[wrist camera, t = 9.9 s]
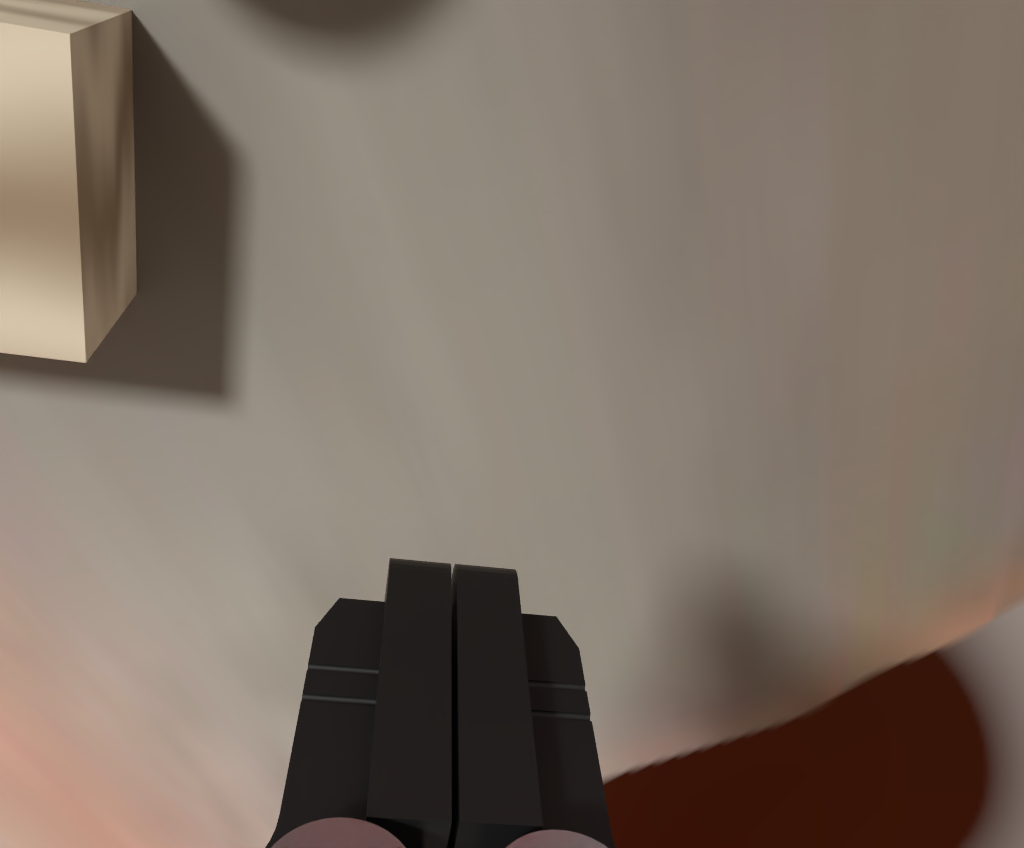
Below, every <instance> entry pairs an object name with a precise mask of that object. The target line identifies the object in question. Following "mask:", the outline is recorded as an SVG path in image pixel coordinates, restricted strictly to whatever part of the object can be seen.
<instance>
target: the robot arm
mask: <svg viewBox="0 0 1024 848" xmlns="http://www.w3.org/2000/svg"><path fill="white" fill-rule="evenodd" d="M265 848H615V845H614V842H613V837H612V833H611V828H610V822H609V816H608V811H607V805H606V800H605V794H604V788H603V782H602V776H601V771H600V765H599V759H598V754H597V748H596V742H595V737H594V731H593V725H592V721H590V708H589V703H588V697H587V691H585V680H584V674H583V669H582V663H581V657H580V651H579V648H578V647H577V645H576V644H575V642H574V641H573V639H572V638H571V637H570V635H569V634H568V632H567V631H566V630H565V628H564V627H563V625H562V624H561V623H560V621H559V620H558V618H557V617H556V616H544V615H533V614H521V605H520V595H519V586H518V577H517V572H516V570H514V569H504V568H493V567H482V566H471V565H461V564H455V566H454V569H453V574H452V579H451V564H447V563H436V562H426V561H415V560H404V559H393V558H390V561H389V569H388V577H387V585H386V594H385V602H380V601H368V600H356V599H345V598H339V599H338V600H337V602H336V603H335V604H334V605H333V606H332V608H331V609H330V610H329V611H328V612H327V614H326V615H325V616H324V617H323V618H322V620H321V621H320V622H319V623H318V624H317V626H316V627H315V631H314V636H313V642H312V647H311V652H310V657H309V663H308V670H307V673H306V678H305V684H304V689H303V695H302V701H301V705H300V710H299V715H298V721H297V726H296V731H295V736H294V742H293V747H292V752H291V758H290V763H289V768H288V773H287V779H286V784H285V789H284V794H283V800H282V805H281V810H280V815H279V819H278V823H277V826H276V829H275V831H274V833H273V835H272V838H271V840H270V842H269V843H268V844H267V846H266V847H265Z"/></svg>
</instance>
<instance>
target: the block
mask: <svg viewBox="0 0 1024 848" xmlns="http://www.w3.org/2000/svg"><path fill="white" fill-rule="evenodd" d="M136 294H137V267H136V214H135V160H134V106H133V53H132V10H129V9H123V8H117V7H112V6H106V5H100V4H95V3H89V2H83V1H78V0H0V353H8V354H16V355H24V356H33V357H41V358H49V359H58V360H66V361H74V362H83V363H86V362H87V361H88V360H89V358H90V357H91V355H92V354H93V353H94V351H95V350H96V349H97V347H98V346H99V345H100V343H101V342H102V341H103V339H104V338H105V336H106V335H107V334H108V332H109V331H110V330H111V328H112V327H113V326H114V324H115V323H116V322H117V320H118V319H119V317H120V316H121V315H122V313H123V312H124V311H125V309H126V308H127V307H128V305H129V304H130V303H131V301H132V300H133V299H134V297H135V296H136Z"/></svg>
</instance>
